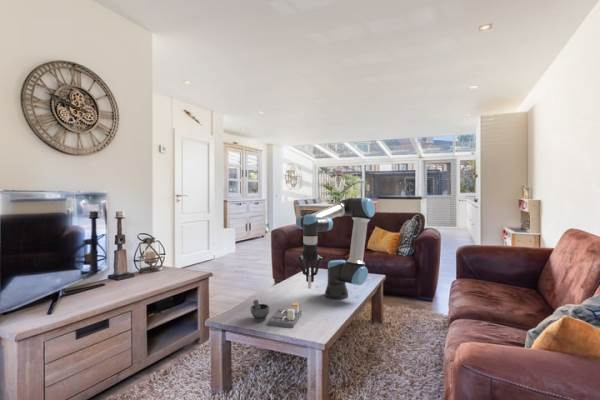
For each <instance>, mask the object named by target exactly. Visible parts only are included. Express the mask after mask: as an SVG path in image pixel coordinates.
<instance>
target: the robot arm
mask: <svg viewBox="0 0 600 400" xmlns="http://www.w3.org/2000/svg"><path fill="white" fill-rule="evenodd" d="M375 214H376V205H375V202H374V201H373V200H372V199H371V198H367V197H366V198H365V197H348V198H345V199H341V200H339V201H337V202H335V203H333V205H331V206H329V207H326V208H323V209H321V210H318V211H316V212H314V213H309V214H305V215H300V216H298V217H296V221H295V226H296V227H297V228H298V229H300V230H302V231H303V235H302V236H303V241H302V243H303V247H302V249H303V250H302V254H301V255H299V256H298V257H297V259H298V260H299V263H300V266H301V270H302V271H301V272H302V275H305V277H306V278H305V281H306V282H307V289H309V290H310V289H312V287H313V283H314V282H315V281H314V280H315V276H317V275H318V273H319V269H320V265H321V261H322V259H323V257H322V256H320V255H319V253H318V232H319V233H321V232H328V231H330V230H332V229H333V225H334V221H333V219H334V218H337V217H344V216H349V217H351V219H352V220H353V226H352V232H351V242H350V248H349V249H350V250H349V257H348V259H347V260H345V259H332V260H330V261H328V262H327V283H326V288H325V291H324V297H326V298H327V299H331V300H344V299H347V298H348V297H349V291H348V287H347V283H348V284H351V285H354V286H362V285H363V284H365V282H366V281H367V279H368V275H369V270H368V268H367V267H366V263H365V261H364V255H365V246H366V239H367V232H368V230H367V229H368V224H369V222H370V221H371V218H372V217H374V215H375ZM316 259H317V262H316V266H315V260H316ZM304 260H305V263H306V265H305V263H304Z"/></svg>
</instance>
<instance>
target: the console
mask: <svg viewBox="0 0 600 400" xmlns="http://www.w3.org/2000/svg"><path fill="white" fill-rule="evenodd" d="M287 310H288V309H285V308H277V310H276V312H275V313H274V314H273V315H272V316H271V317H270V318H269V320H268V326H275V327H284V328H294V327H295V326H296V325H297V322H298V321H299V320H300V318H301V316H302V310H299V312H298V314H295V318H294V320H288V312H287Z"/></svg>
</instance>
